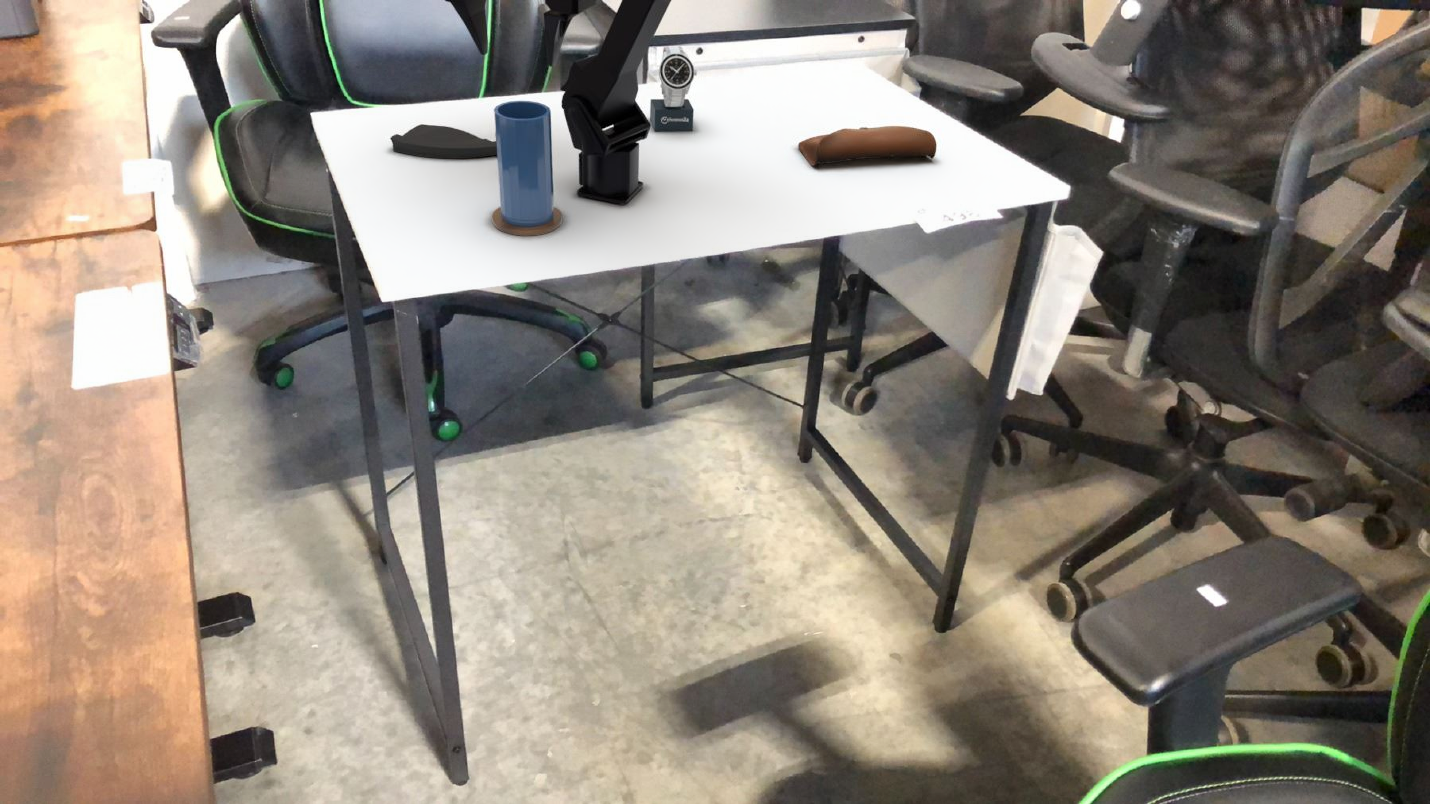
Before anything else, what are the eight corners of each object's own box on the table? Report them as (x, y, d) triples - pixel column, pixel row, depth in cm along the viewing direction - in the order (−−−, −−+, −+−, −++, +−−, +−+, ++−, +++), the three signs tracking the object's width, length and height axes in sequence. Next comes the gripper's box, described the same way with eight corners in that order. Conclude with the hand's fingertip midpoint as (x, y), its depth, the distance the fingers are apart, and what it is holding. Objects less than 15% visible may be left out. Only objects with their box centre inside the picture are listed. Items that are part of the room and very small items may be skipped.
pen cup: (549, 203, 118) (546, 99, 111) (557, 225, 114) (553, 119, 106) (498, 206, 117) (491, 101, 109) (503, 228, 112) (496, 121, 105)
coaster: (573, 213, 118) (573, 208, 117) (543, 241, 111) (543, 236, 111) (512, 201, 119) (512, 196, 119) (479, 227, 113) (479, 222, 113)
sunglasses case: (908, 136, 144) (926, 105, 139) (922, 176, 142) (942, 146, 136) (793, 143, 140) (807, 111, 134) (806, 184, 137) (820, 154, 131)
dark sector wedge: (483, 169, 127) (482, 156, 126) (388, 151, 129) (387, 139, 128) (512, 146, 133) (512, 134, 132) (422, 129, 136) (420, 118, 135)
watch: (656, 136, 140) (659, 57, 133) (648, 116, 146) (650, 39, 140) (695, 135, 141) (700, 57, 134) (685, 115, 147) (689, 40, 141)
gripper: (614, -80, 117) (613, 54, 126) (472, -99, 121) (482, 32, 130) (575, -64, 109) (577, 79, 118) (424, -85, 113) (437, 54, 122)
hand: (518, 60), depth 122 cm, fingers open, 9 cm apart
